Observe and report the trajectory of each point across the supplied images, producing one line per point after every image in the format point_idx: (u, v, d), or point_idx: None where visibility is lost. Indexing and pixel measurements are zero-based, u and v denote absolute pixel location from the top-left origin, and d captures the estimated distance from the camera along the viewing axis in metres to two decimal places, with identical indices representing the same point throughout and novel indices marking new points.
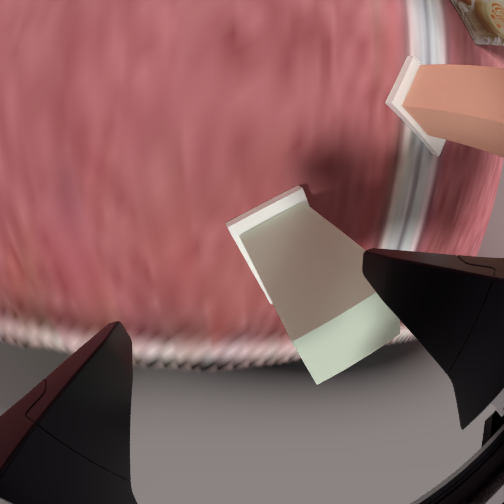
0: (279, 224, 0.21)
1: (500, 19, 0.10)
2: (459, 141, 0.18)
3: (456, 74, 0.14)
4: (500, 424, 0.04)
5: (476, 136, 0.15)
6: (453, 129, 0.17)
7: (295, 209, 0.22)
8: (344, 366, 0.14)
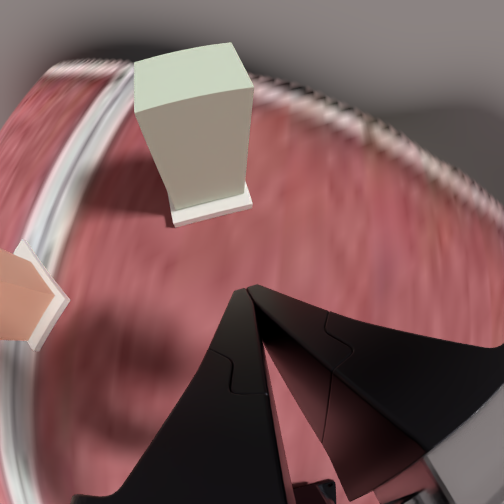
0: (206, 193, 0.21)
1: None
2: (3, 252, 0.16)
3: None
4: None
5: None
6: (9, 265, 0.15)
7: (186, 204, 0.22)
8: (201, 49, 0.13)
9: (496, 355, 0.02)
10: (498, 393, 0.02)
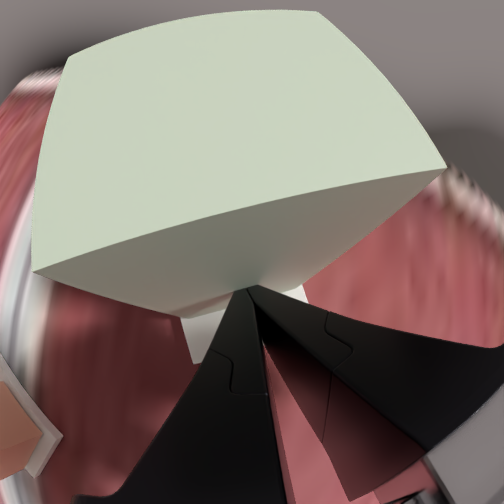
0: None
1: None
2: None
3: None
4: None
5: None
6: None
7: (205, 313, 0.14)
8: (247, 15, 0.04)
9: (496, 355, 0.02)
10: (498, 393, 0.02)
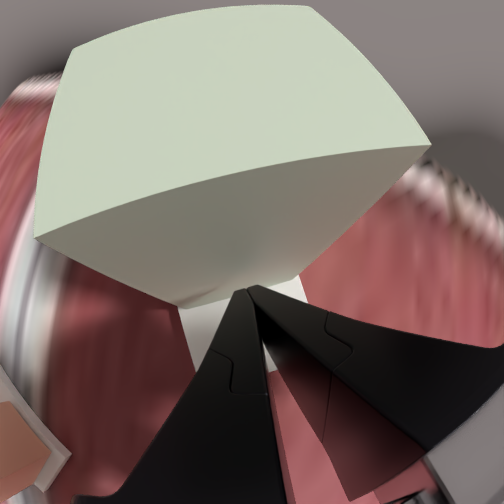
0: None
1: None
2: None
3: (0, 498, 0.04)
4: None
5: None
6: None
7: (202, 304, 0.14)
8: (241, 10, 0.04)
9: (496, 355, 0.02)
10: (498, 393, 0.02)
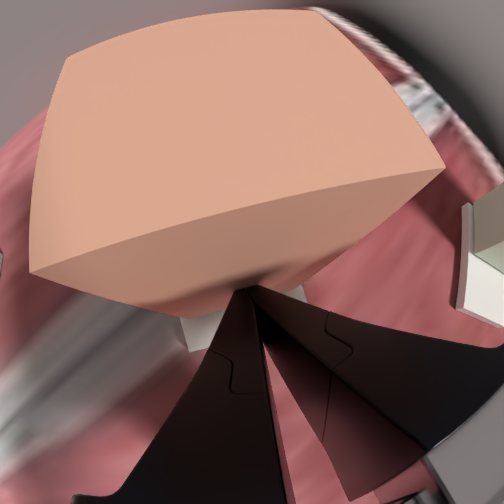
0: None
1: None
2: None
3: (200, 303, 0.09)
4: None
5: None
6: None
7: (486, 256, 0.16)
8: None
9: (496, 355, 0.02)
10: (498, 393, 0.02)
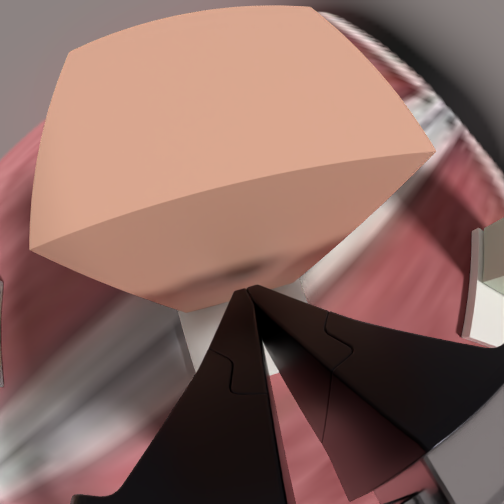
0: None
1: None
2: None
3: (197, 293, 0.09)
4: None
5: None
6: None
7: (494, 284, 0.15)
8: None
9: (496, 355, 0.02)
10: (498, 393, 0.02)
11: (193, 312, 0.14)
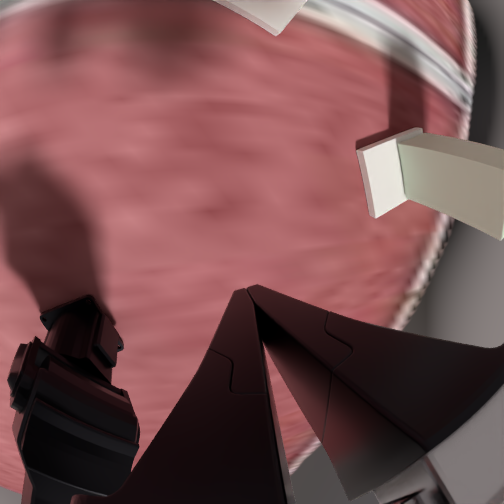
0: (413, 173, 0.22)
1: None
2: None
3: None
4: None
5: None
6: None
7: (404, 154, 0.22)
8: None
9: (496, 355, 0.02)
10: (498, 393, 0.02)
11: None
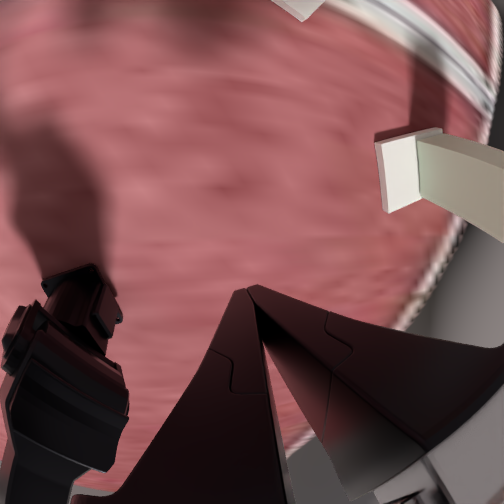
0: (430, 172, 0.21)
1: None
2: None
3: None
4: None
5: None
6: None
7: (422, 151, 0.21)
8: None
9: (496, 355, 0.02)
10: (498, 393, 0.02)
11: None
